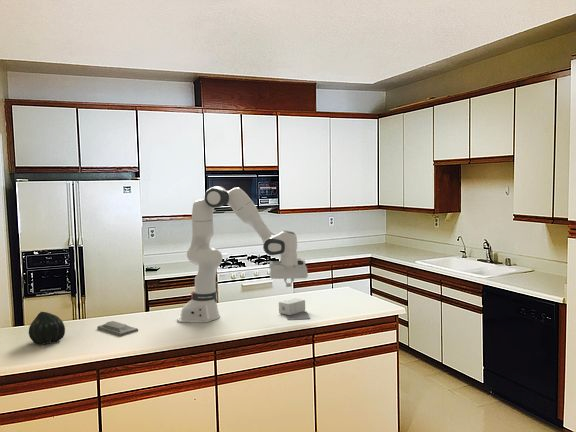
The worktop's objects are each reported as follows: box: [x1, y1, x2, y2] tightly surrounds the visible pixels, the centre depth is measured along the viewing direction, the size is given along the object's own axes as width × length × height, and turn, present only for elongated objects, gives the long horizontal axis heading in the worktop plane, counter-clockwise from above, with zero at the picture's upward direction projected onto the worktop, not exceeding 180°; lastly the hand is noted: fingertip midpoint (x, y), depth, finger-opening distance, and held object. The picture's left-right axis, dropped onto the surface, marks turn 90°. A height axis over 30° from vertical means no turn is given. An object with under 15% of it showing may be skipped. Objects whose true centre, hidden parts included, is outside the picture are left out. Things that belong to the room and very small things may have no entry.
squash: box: [28, 311, 66, 346], centre depth 218 cm, size 14×15×15 cm
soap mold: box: [96, 320, 139, 337], centre depth 233 cm, size 10×20×4 cm, turn 54°
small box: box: [278, 297, 306, 316], centre depth 257 cm, size 8×6×13 cm
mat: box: [285, 310, 311, 321], centre depth 251 cm, size 12×13×1 cm
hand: (288, 286), depth 249 cm, fingers closed
